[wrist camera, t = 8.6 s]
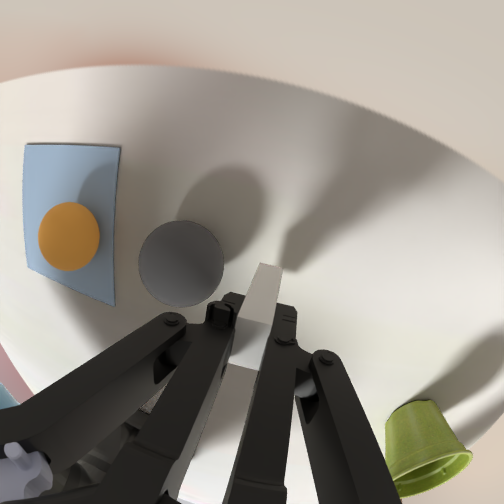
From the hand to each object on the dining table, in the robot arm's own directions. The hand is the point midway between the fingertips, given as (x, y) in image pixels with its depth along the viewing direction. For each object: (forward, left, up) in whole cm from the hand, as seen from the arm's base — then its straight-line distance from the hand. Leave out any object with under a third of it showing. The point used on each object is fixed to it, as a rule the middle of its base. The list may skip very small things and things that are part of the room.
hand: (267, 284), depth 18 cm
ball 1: (+8, +14, +1) cm, 16 cm away
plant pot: (-21, -9, -2) cm, 23 cm away
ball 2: (+3, +4, +1) cm, 6 cm away
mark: (+11, +17, -2) cm, 20 cm away
